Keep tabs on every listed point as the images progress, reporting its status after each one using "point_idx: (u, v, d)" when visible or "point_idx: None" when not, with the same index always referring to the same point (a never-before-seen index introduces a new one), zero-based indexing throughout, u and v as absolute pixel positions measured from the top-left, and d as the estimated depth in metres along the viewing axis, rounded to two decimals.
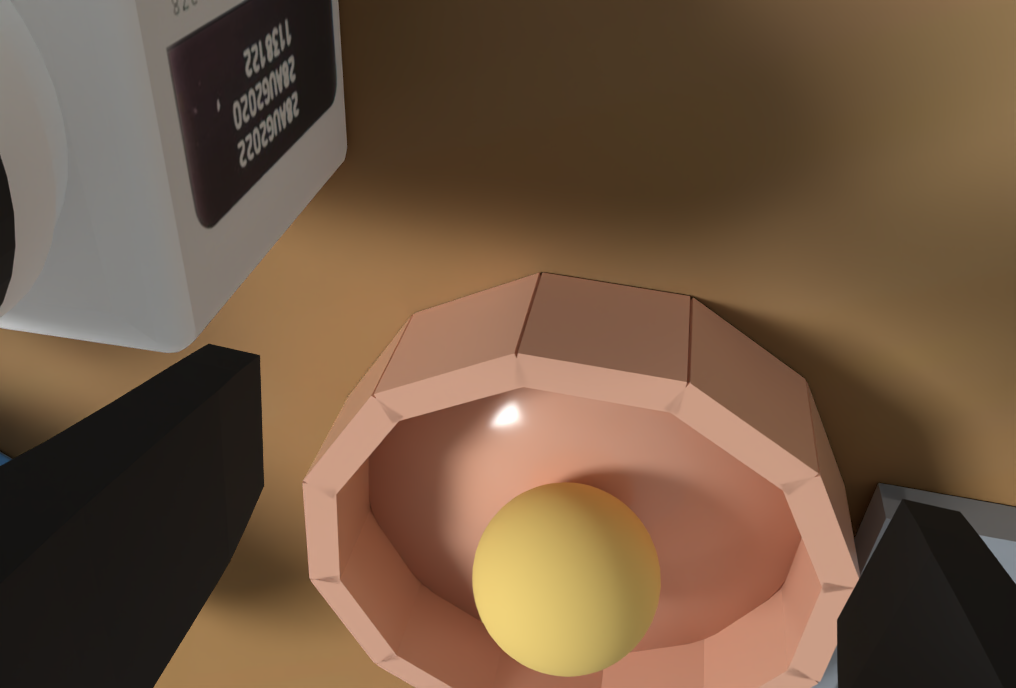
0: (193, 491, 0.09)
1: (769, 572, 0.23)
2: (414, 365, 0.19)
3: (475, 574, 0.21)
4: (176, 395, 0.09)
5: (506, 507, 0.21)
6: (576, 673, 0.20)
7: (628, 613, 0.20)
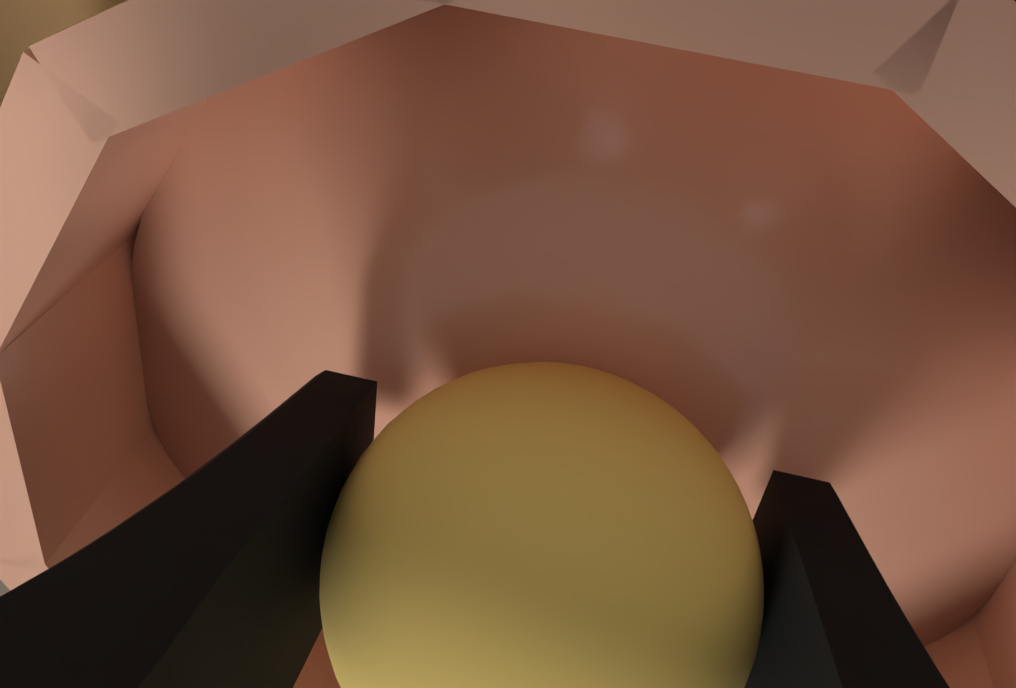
0: (322, 521, 0.09)
1: None
2: None
3: None
4: (309, 425, 0.09)
5: None
6: None
7: (438, 568, 0.07)
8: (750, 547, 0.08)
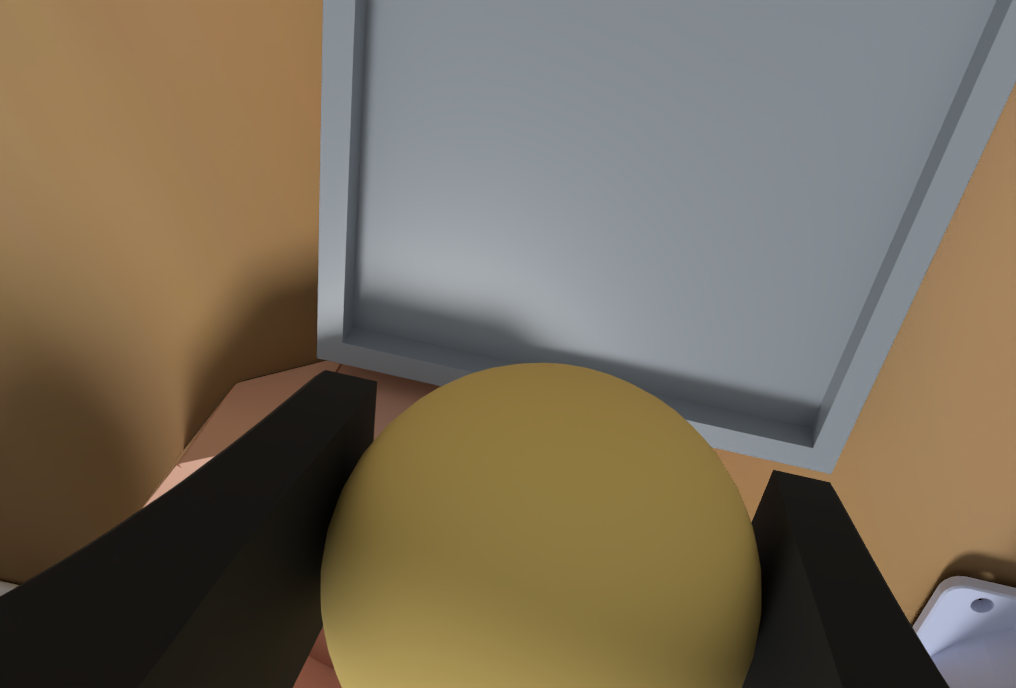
0: (322, 521, 0.09)
1: None
2: None
3: None
4: (308, 425, 0.09)
5: None
6: None
7: (445, 568, 0.07)
8: (750, 549, 0.08)
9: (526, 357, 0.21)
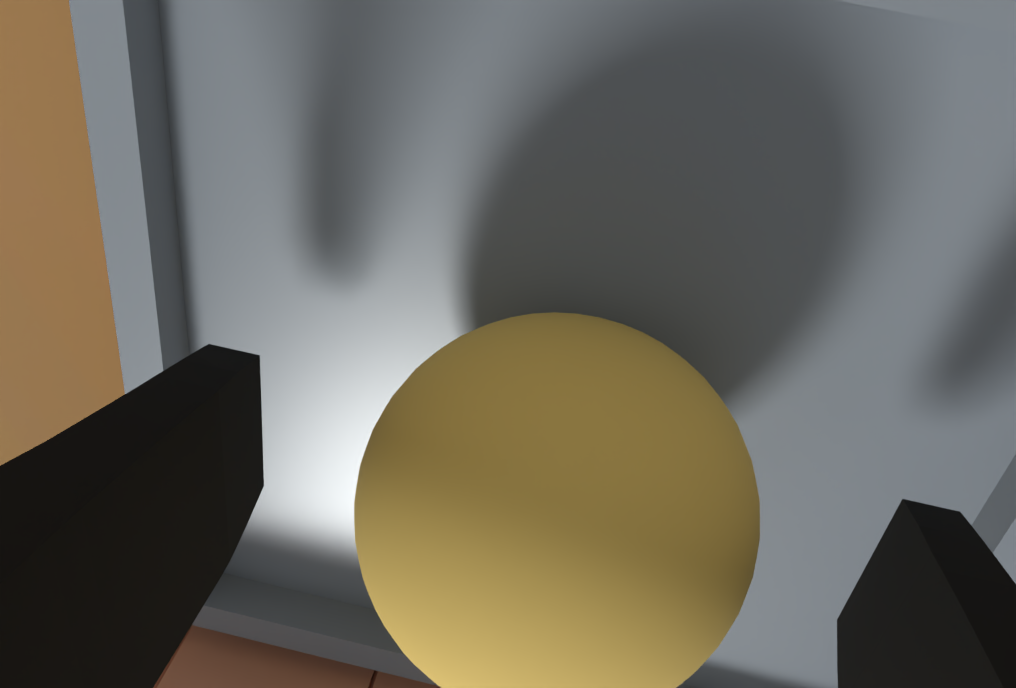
0: (193, 491, 0.09)
1: None
2: None
3: None
4: (176, 395, 0.09)
5: None
6: (628, 640, 0.08)
7: (474, 487, 0.08)
8: (749, 477, 0.09)
9: None
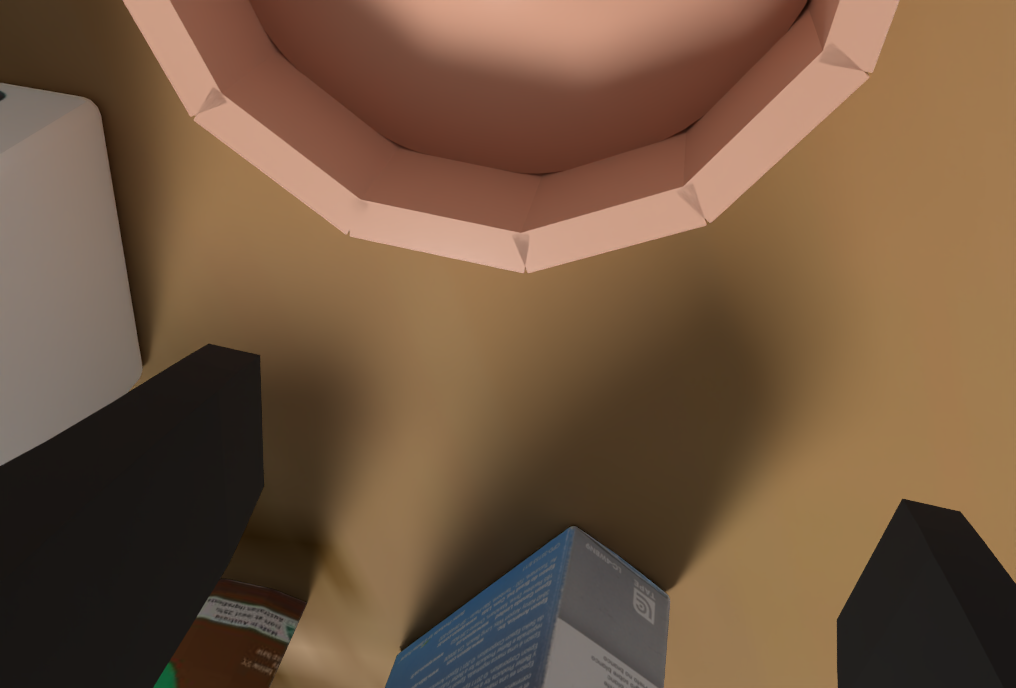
0: (193, 491, 0.09)
1: None
2: None
3: None
4: (176, 395, 0.09)
5: None
6: None
7: None
8: None
9: None
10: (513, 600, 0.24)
